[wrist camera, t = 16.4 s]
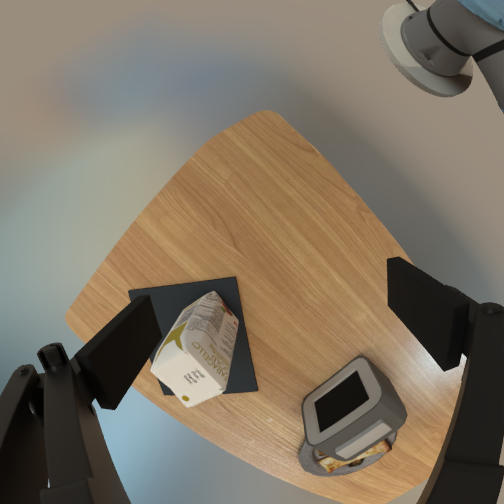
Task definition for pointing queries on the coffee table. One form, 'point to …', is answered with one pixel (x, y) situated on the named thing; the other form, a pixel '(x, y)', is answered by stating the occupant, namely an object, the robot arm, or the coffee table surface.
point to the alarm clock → (352, 411)
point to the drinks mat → (182, 295)
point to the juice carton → (198, 351)
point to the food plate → (329, 466)
